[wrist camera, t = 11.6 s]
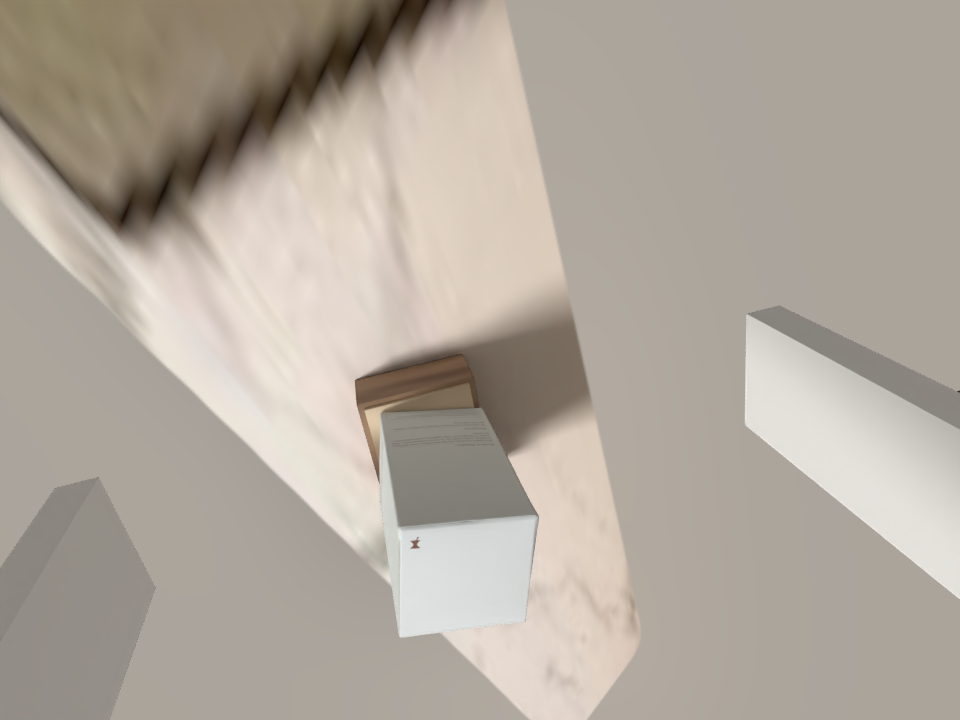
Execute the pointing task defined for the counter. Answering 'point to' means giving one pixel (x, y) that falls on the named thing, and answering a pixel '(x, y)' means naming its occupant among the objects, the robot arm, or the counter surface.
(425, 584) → the supplement box
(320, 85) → the counter surface
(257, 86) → the counter surface
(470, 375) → the brown wooden block
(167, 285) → the counter surface
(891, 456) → the robot arm
